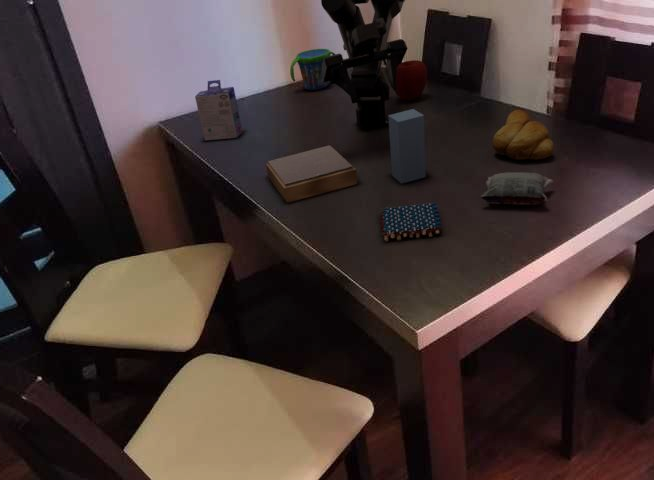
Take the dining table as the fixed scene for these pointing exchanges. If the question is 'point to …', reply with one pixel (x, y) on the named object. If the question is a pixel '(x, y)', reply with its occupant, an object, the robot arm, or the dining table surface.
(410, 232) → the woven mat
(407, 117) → the packet
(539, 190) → the packaged food
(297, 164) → the stand
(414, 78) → the apple
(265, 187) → the dining table surface
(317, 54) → the snack cup
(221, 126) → the ink cartridge box
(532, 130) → the bread roll
